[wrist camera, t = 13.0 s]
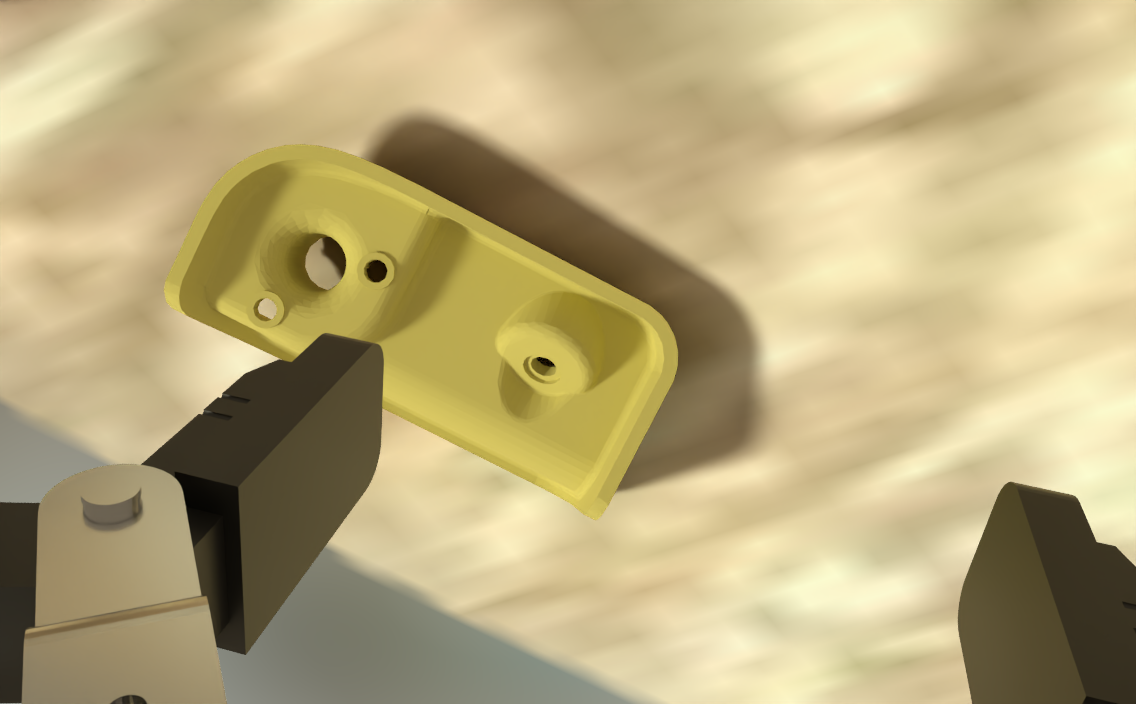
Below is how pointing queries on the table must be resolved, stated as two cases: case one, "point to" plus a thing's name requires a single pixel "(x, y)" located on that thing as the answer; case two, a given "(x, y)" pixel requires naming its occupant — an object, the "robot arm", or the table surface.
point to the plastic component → (435, 315)
